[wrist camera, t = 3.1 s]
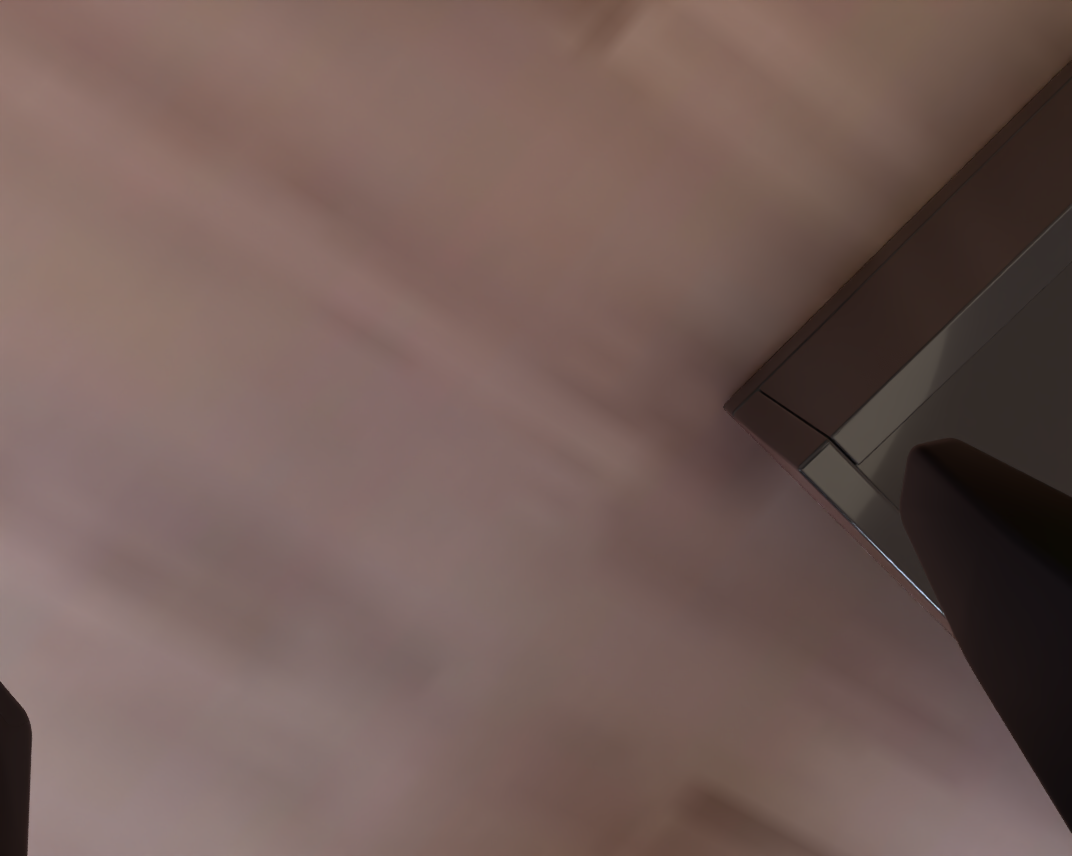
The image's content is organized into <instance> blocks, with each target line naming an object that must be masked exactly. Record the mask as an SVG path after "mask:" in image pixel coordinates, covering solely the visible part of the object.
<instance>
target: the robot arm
mask: <svg viewBox="0 0 1072 856" xmlns="http://www.w3.org/2000/svg"><path fill="white" fill-rule="evenodd" d="M900 515H901V520H902V523H903V526H904V528H905V530H906V533H907V535H908V537H909V539H910V541H911V543H912V546H913V548H914V550H915V552H916V554H917V556H918V558H919V561H920V563H921V565H922V567H923V569H924V571H925V574H926V576H927V578H928V580H929V582H930V584H931V586H932V589H933V591H934V593H935V595H936V597H937V599H938V602H939V604H940V606H941V608H942V610H943V612H944V615H945V617H946V619H947V621H948V623H949V625H950V627H951V630H952V632H953V634H954V636H955V638H956V640H957V642H958V644H959V646H960V648H961V650H962V652H963V654H964V656H965V658H966V660H967V661H968V663H969V665H970V667H971V668H972V670H973V672H974V674H975V675H976V677H977V679H978V681H979V682H980V684H981V685H982V687H983V689H984V690H985V692H986V694H987V695H988V697H989V699H990V700H991V702H992V704H993V705H994V707H995V708H996V710H997V712H998V713H999V715H1000V717H1001V718H1002V720H1003V722H1004V723H1005V725H1006V726H1007V728H1008V730H1009V731H1010V733H1011V735H1012V736H1013V738H1014V740H1015V741H1016V743H1017V745H1018V746H1019V748H1020V749H1021V751H1022V753H1023V754H1024V756H1025V758H1026V759H1027V761H1028V763H1029V764H1030V766H1031V768H1032V769H1033V771H1034V772H1035V774H1036V776H1037V777H1038V779H1039V781H1040V782H1041V784H1042V786H1043V787H1044V789H1045V791H1046V792H1047V794H1048V795H1049V797H1050V799H1051V800H1052V802H1053V804H1054V805H1055V807H1056V809H1057V810H1058V812H1059V814H1060V815H1061V817H1062V818H1063V820H1064V822H1065V823H1066V825H1067V827H1068V828H1069V830H1070V832H1071V833H1072V497H1071V496H1069V495H1067V494H1065V493H1063V492H1061V491H1059V490H1057V489H1055V488H1053V487H1051V486H1049V485H1047V484H1045V483H1043V482H1041V481H1039V480H1037V479H1035V478H1033V477H1031V476H1030V475H1028V474H1026V473H1024V472H1022V471H1020V470H1018V469H1016V468H1014V467H1012V466H1010V465H1008V464H1006V463H1004V462H1002V461H1000V460H998V459H996V458H994V457H992V456H990V455H988V454H986V453H985V452H983V451H981V450H979V449H977V448H975V447H973V446H971V445H969V444H967V443H965V442H963V441H961V440H958V439H955V438H944V439H940V440H935V441H931V442H927V443H923V444H918V445H916V446H914V447H913V448H912V449H911V451H910V452H909V454H908V458H907V463H906V469H905V474H904V480H903V486H902V492H901V497H900ZM31 747H32V731H31V725H30V721H29V718H28V716H27V714H26V712H25V710H24V709H23V708H22V706H21V705H20V704H19V703H18V702H17V701H16V699H15V698H14V697H13V696H12V695H11V694H10V692H9V691H8V690H7V689H6V688H5V686H4V685H3V684H2V683H1V682H0V856H27V852H28V826H29V800H30V774H31Z"/></svg>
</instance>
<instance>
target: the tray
mask: <svg viewBox="0 0 1072 856" xmlns="http://www.w3.org/2000/svg"><path fill="white" fill-rule="evenodd" d="M723 408H724V410H725V411H726V412H727V413H728V414H729V415H730V416H731V417H732V418H733V419H734V420H735V421H736V422H737V423H738V424H739V425H740V426H741V427H742V428H743V429H744V430H745V431H746V432H747V433H748V434H749V435H750V436H751V437H752V438H753V439H754V440H755V441H756V442H757V443H758V444H759V445H760V446H761V447H762V448H763V449H764V450H765V451H766V452H767V453H768V454H769V455H770V456H771V457H772V458H773V459H774V460H775V461H776V462H777V463H778V464H779V465H780V466H781V467H782V468H783V469H784V470H785V471H786V472H787V473H788V474H789V475H790V476H791V477H792V478H793V479H794V480H795V481H796V482H797V483H798V484H799V485H800V486H801V487H802V488H803V489H804V490H805V491H806V492H807V493H808V494H809V495H810V496H811V497H812V498H813V499H814V500H816V501H817V502H818V503H819V504H820V505H821V506H822V507H823V508H824V509H825V510H826V511H827V512H828V513H829V514H830V515H831V516H832V517H833V518H834V519H835V520H836V521H837V522H838V523H839V524H840V525H841V526H842V527H843V528H844V529H845V530H846V531H847V532H848V533H849V534H850V535H851V536H852V537H853V538H854V539H855V540H856V541H857V542H858V543H859V544H860V545H861V546H862V547H863V548H864V549H865V550H866V551H867V552H868V553H869V554H870V555H871V556H872V557H873V558H874V559H875V560H876V561H877V562H878V563H879V564H880V565H881V566H882V567H883V568H884V569H885V570H886V571H887V572H888V573H889V574H890V575H891V576H892V577H893V578H894V579H895V580H896V581H897V582H898V583H899V584H900V585H901V586H902V587H903V588H904V589H905V590H906V591H907V592H908V593H909V594H910V595H911V596H912V597H913V598H914V599H915V600H916V601H917V602H918V603H919V604H920V605H921V606H922V607H923V608H924V609H925V610H926V611H927V612H928V613H929V614H930V615H931V616H932V617H933V618H934V619H935V620H936V621H937V622H938V623H939V624H940V625H941V626H942V627H943V628H944V629H945V630H946V631H947V632H948V633H949V634H950V635H951V636H952V637H953V638H954V639H955V640H956V638H955V636H954V634H953V632H952V630H951V627H950V625H949V623H948V621H947V619H946V617H945V615H944V612H943V610H942V608H941V606H940V604H939V602H938V599H937V597H936V595H935V593H934V591H933V589H932V586H931V584H930V582H929V580H928V578H927V576H926V574H925V571H924V569H923V567H922V565H921V563H920V561H919V558H918V556H917V554H916V552H915V550H914V548H913V546H912V543H911V541H910V539H909V537H908V535H907V533H906V530H905V528H904V526H903V523H902V520H901V515H900V497H901V492H902V486H903V480H904V474H905V469H906V463H907V458H908V454H909V452H910V451H911V449H912V448H913V447H914V446H916V445H918V444H923V443H927V442H931V441H935V440H940V439H944V438H955V439H958V440H961V441H963V442H965V443H967V444H969V445H971V446H973V447H975V448H977V449H979V450H981V451H983V452H985V453H986V454H988V455H990V456H992V457H994V458H996V459H998V460H1000V461H1002V462H1004V463H1006V464H1008V465H1010V466H1012V467H1014V468H1016V469H1018V470H1020V471H1022V472H1024V473H1026V474H1028V475H1030V476H1031V477H1033V478H1035V479H1037V480H1039V481H1041V482H1043V483H1045V484H1047V485H1049V486H1051V487H1053V488H1055V489H1057V490H1059V491H1061V492H1063V493H1065V494H1067V495H1069V496H1071V497H1072V60H1071V61H1070V62H1069V63H1068V64H1067V65H1066V66H1065V67H1064V68H1063V69H1062V70H1061V71H1060V72H1059V73H1058V74H1057V75H1056V76H1055V77H1054V78H1053V79H1052V80H1051V81H1050V82H1049V83H1048V84H1047V85H1046V86H1045V87H1044V88H1043V89H1042V90H1041V91H1040V92H1039V93H1038V94H1037V95H1036V96H1035V97H1034V98H1033V99H1032V100H1031V101H1030V102H1029V103H1028V104H1027V105H1026V106H1025V107H1024V108H1023V109H1022V110H1021V111H1020V112H1019V113H1018V114H1017V115H1016V116H1015V117H1014V118H1013V119H1012V120H1011V121H1010V122H1009V123H1008V124H1007V125H1006V126H1005V127H1004V128H1003V129H1002V130H1001V131H1000V132H999V133H998V134H997V135H996V136H995V137H994V138H993V139H992V140H991V141H990V142H989V143H988V144H987V145H986V146H985V147H984V148H983V149H982V150H981V151H980V152H979V153H978V154H977V155H976V156H975V157H974V158H973V159H972V160H971V161H970V162H969V163H968V164H967V165H965V166H964V167H963V168H962V169H961V170H960V171H959V172H958V173H957V174H956V175H955V176H954V177H953V178H952V179H951V180H950V181H949V182H948V183H947V184H946V185H945V186H944V187H943V188H942V189H941V190H940V191H939V192H938V193H937V194H936V195H935V196H934V197H933V198H932V199H931V200H930V201H929V202H928V203H927V204H926V205H925V206H924V207H923V208H922V209H921V210H920V211H919V212H918V213H917V214H916V215H915V216H914V217H913V218H912V219H911V220H910V221H909V222H908V223H907V224H906V225H905V226H904V227H903V228H902V229H901V230H900V231H899V232H898V233H897V234H896V235H895V236H894V237H893V238H892V239H891V240H890V241H889V242H888V243H887V244H886V245H885V246H884V247H883V248H882V249H881V250H880V251H879V252H878V253H877V254H876V255H875V256H874V257H873V258H872V259H871V260H870V261H869V262H868V263H867V264H866V265H865V266H864V267H863V268H862V269H861V270H860V271H859V272H858V273H857V274H856V275H855V276H854V277H853V278H852V279H851V280H850V281H848V282H847V283H846V284H845V285H844V286H843V287H842V288H841V289H840V290H839V291H838V292H837V293H836V294H835V295H834V296H833V297H832V298H831V299H830V300H829V301H828V302H827V303H826V304H825V305H824V306H823V307H822V308H821V309H820V310H819V311H818V312H817V313H816V314H815V315H814V316H813V317H812V318H811V319H810V320H809V321H808V322H807V323H806V324H805V325H804V326H803V327H802V328H801V329H800V330H799V331H798V332H797V333H796V334H795V335H794V336H793V337H792V338H791V339H790V340H789V341H788V342H787V343H786V344H785V345H784V346H783V347H782V348H781V349H780V350H779V351H778V352H777V353H776V354H775V355H774V356H773V357H772V358H771V359H770V360H769V361H768V362H767V363H766V364H765V365H764V366H763V367H762V368H761V369H760V370H759V371H758V372H757V373H756V374H755V375H754V376H753V377H752V378H751V379H750V380H749V381H748V382H747V383H746V384H745V385H744V386H743V387H742V388H741V389H740V390H739V391H738V392H737V393H736V394H735V395H734V396H733V397H732V398H730V399H729V400H728V401H727V402H726V403H725V405H724V406H723ZM956 641H957V640H956Z"/></svg>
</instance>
